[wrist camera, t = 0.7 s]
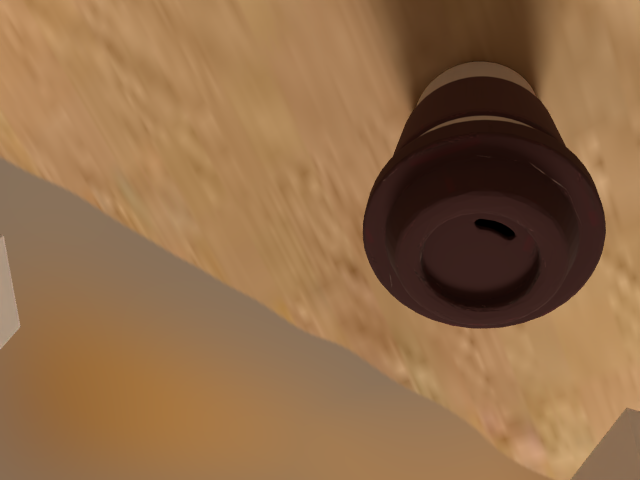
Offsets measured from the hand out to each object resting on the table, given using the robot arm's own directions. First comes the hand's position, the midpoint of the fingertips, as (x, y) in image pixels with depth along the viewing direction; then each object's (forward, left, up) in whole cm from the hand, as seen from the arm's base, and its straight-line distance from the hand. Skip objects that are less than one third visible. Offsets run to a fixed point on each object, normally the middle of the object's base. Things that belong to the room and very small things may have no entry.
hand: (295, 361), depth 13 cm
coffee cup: (+5, +5, -27) cm, 27 cm away
